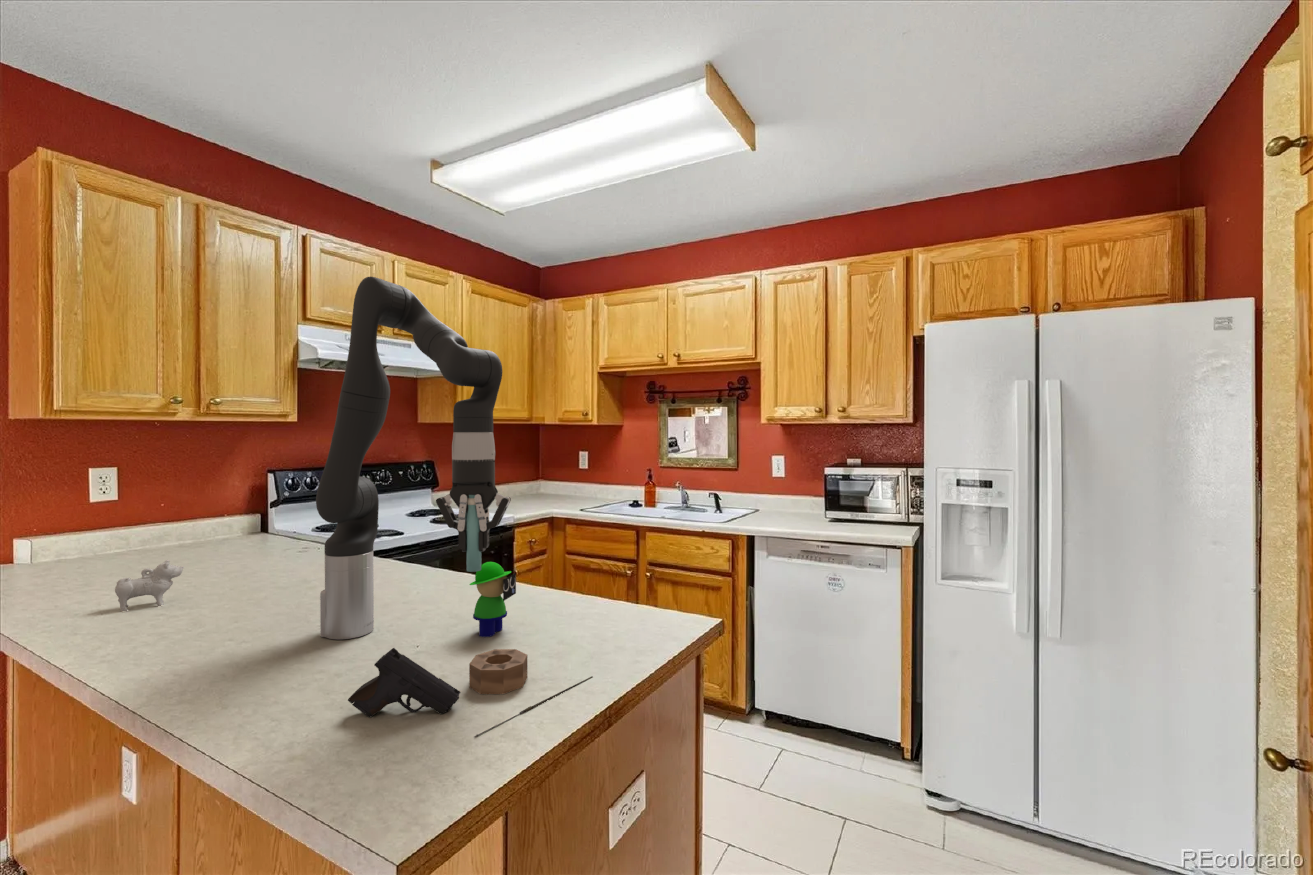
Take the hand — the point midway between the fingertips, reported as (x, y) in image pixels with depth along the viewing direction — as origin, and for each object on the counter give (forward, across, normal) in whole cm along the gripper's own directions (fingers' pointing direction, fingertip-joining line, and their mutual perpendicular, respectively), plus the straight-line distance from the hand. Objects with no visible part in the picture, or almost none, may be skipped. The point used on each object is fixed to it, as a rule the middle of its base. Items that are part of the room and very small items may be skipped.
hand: (474, 550), depth 106 cm
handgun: (+21, -6, -18) cm, 28 cm away
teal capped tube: (+4, 0, 0) cm, 4 cm away
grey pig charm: (+21, -90, +38) cm, 100 cm away
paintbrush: (+22, +15, -16) cm, 30 cm away
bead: (+21, +6, -8) cm, 23 cm away
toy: (+21, -2, +18) cm, 28 cm away
